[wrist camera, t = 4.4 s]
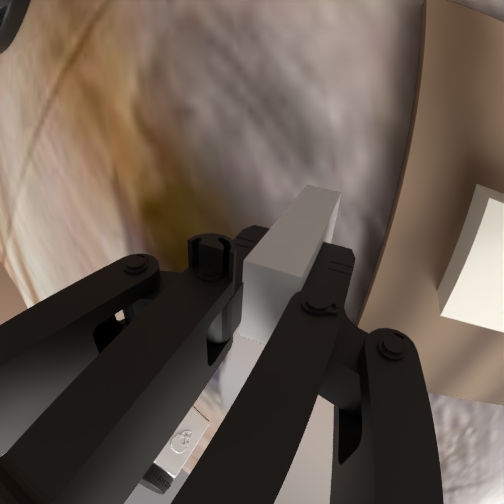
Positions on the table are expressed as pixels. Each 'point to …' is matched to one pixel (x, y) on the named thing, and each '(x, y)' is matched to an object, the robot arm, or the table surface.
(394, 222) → the serving board
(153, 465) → the jar
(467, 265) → the cream rectangular block
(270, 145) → the table surface
